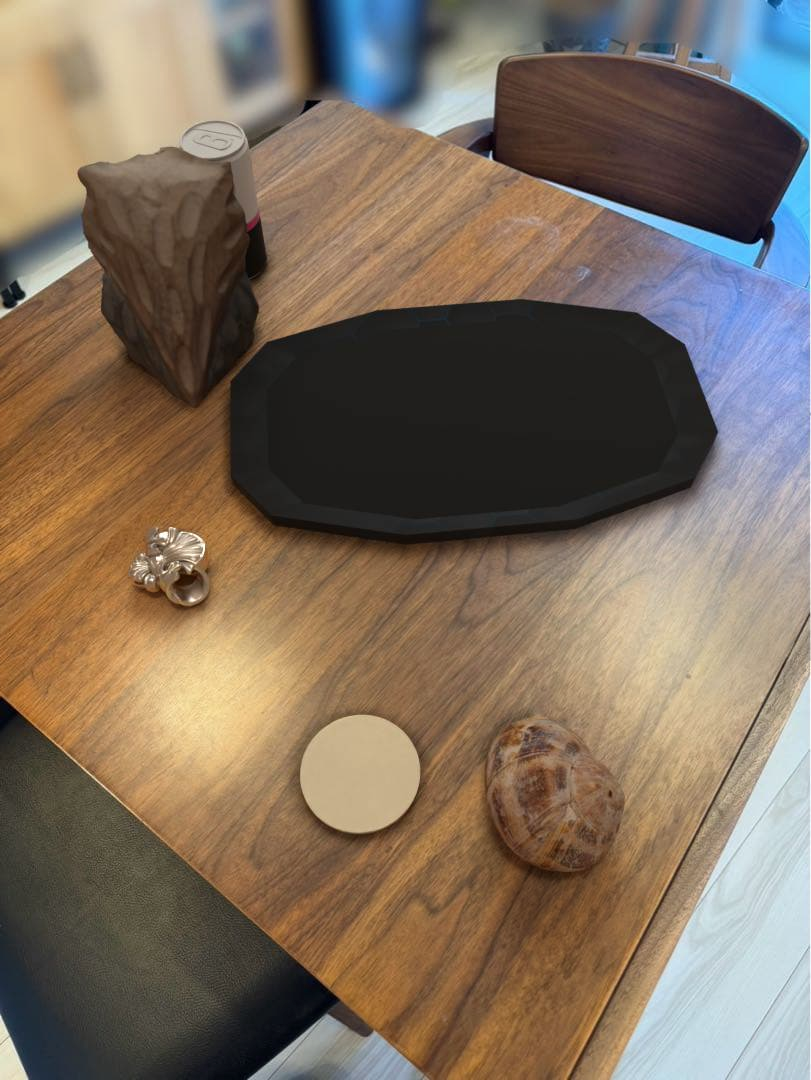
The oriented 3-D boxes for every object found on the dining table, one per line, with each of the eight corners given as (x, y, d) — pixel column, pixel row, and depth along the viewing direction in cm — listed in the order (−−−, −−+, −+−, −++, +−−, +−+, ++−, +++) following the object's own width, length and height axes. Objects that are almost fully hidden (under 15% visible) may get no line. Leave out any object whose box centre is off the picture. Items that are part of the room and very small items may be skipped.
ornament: (120, 554, 78) (108, 531, 74) (195, 524, 79) (186, 500, 76) (149, 627, 74) (138, 606, 71) (227, 593, 75) (219, 571, 72)
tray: (660, 298, 94) (663, 287, 93) (740, 513, 80) (745, 503, 78) (232, 332, 92) (230, 321, 91) (233, 560, 77) (230, 550, 76)
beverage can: (248, 291, 95) (223, 166, 83) (196, 274, 97) (164, 148, 84) (278, 254, 99) (259, 128, 86) (227, 238, 100) (201, 111, 87)
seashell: (647, 761, 66) (647, 787, 57) (593, 869, 67) (584, 912, 57) (520, 695, 69) (500, 708, 60) (470, 798, 70) (441, 828, 60)
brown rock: (110, 348, 91) (42, 174, 74) (205, 285, 96) (161, 109, 79) (191, 412, 86) (138, 242, 69) (286, 342, 91) (258, 168, 74)
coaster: (441, 751, 68) (441, 749, 68) (381, 857, 64) (381, 856, 63) (341, 696, 70) (340, 694, 70) (277, 795, 66) (276, 794, 66)
